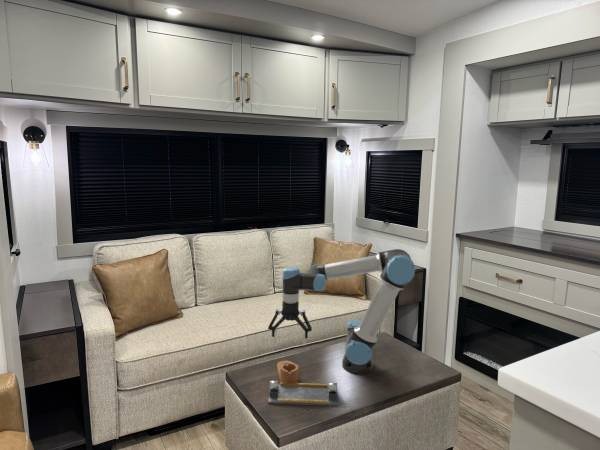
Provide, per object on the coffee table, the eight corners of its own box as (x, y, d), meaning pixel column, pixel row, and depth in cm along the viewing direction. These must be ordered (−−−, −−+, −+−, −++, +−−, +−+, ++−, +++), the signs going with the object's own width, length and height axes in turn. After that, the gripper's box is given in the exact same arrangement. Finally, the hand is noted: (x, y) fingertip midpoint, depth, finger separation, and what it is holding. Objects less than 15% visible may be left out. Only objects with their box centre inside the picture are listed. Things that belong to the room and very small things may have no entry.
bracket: (299, 384, 186) (300, 370, 185) (281, 386, 184) (282, 372, 183) (292, 365, 203) (292, 352, 202) (275, 366, 201) (275, 353, 200)
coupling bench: (336, 388, 183) (336, 375, 182) (337, 406, 170) (337, 392, 169) (271, 386, 184) (271, 373, 183) (268, 403, 171) (268, 389, 170)
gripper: (317, 298, 191) (316, 341, 195) (264, 296, 192) (264, 339, 196) (317, 304, 184) (316, 348, 187) (262, 302, 185) (262, 346, 188)
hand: (289, 343), depth 191 cm, fingers open, 13 cm apart
